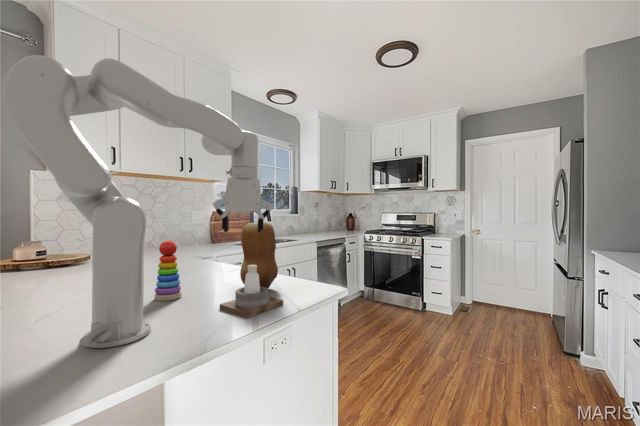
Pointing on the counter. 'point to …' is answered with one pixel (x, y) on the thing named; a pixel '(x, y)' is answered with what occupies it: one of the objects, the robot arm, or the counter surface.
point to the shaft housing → (251, 303)
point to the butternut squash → (259, 252)
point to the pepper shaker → (252, 280)
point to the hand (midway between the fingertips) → (242, 231)
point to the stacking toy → (168, 274)
